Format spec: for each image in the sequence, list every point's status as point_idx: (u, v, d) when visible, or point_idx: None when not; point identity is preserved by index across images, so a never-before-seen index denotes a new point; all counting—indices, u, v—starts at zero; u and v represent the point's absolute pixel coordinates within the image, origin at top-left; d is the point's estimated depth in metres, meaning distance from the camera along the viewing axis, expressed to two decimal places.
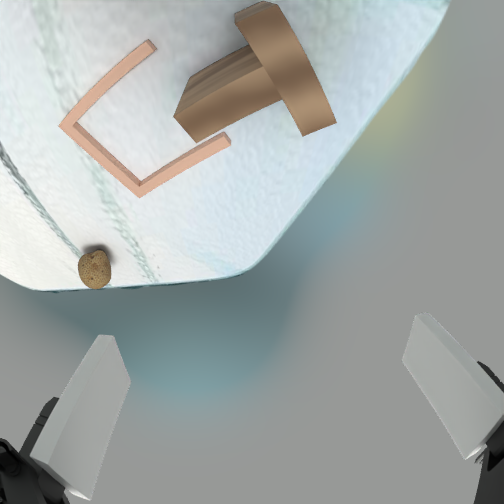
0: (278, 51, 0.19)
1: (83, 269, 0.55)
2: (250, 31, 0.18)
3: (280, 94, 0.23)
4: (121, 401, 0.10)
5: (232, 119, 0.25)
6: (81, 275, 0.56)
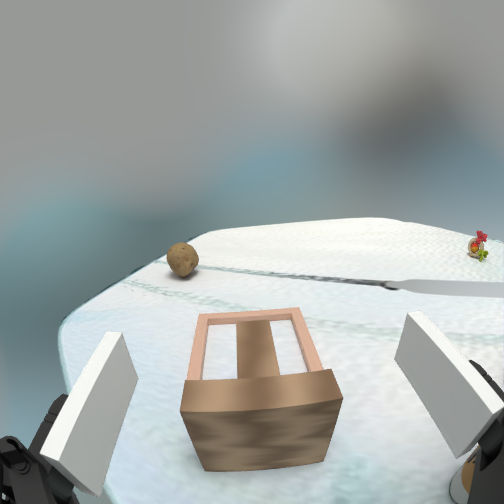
0: (291, 388, 0.22)
1: (193, 251, 0.76)
2: (319, 375, 0.24)
3: (243, 378, 0.24)
4: (129, 398, 0.10)
5: (240, 344, 0.29)
6: (191, 247, 0.77)
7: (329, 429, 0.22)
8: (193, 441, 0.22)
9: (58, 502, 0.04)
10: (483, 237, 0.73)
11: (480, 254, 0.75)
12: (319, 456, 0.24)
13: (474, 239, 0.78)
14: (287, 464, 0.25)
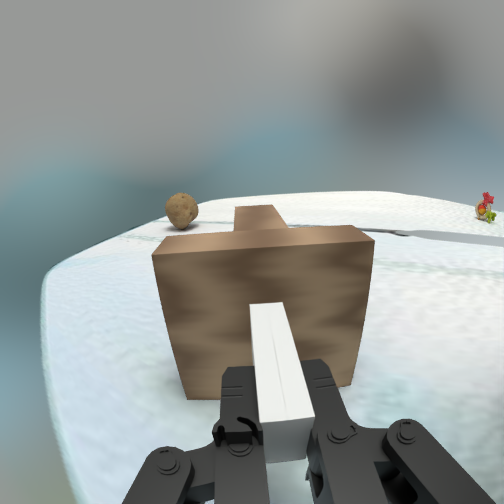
0: (304, 234, 0.18)
1: (192, 201, 0.72)
2: (339, 228, 0.20)
3: (241, 230, 0.20)
4: None
5: (238, 215, 0.25)
6: (191, 197, 0.73)
7: (359, 310, 0.18)
8: (168, 326, 0.18)
9: None
10: (490, 198, 0.69)
11: (488, 216, 0.70)
12: (346, 372, 0.20)
13: (481, 201, 0.73)
14: None
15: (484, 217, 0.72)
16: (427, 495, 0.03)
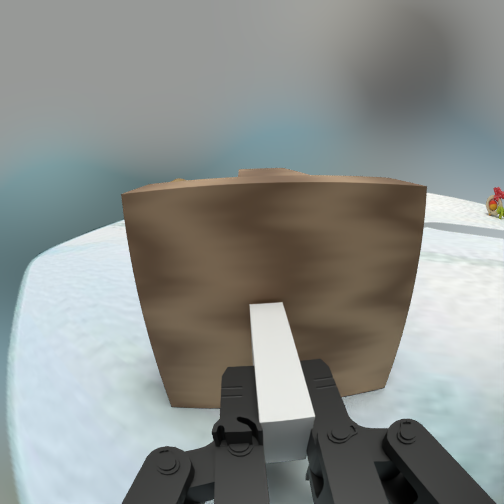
0: (334, 178, 0.13)
1: None
2: (375, 177, 0.14)
3: (248, 176, 0.15)
4: None
5: None
6: None
7: (407, 284, 0.13)
8: (143, 303, 0.13)
9: None
10: (501, 193, 0.63)
11: (499, 212, 0.65)
12: (382, 371, 0.15)
13: (492, 196, 0.67)
14: None
15: (495, 213, 0.66)
16: (427, 495, 0.03)
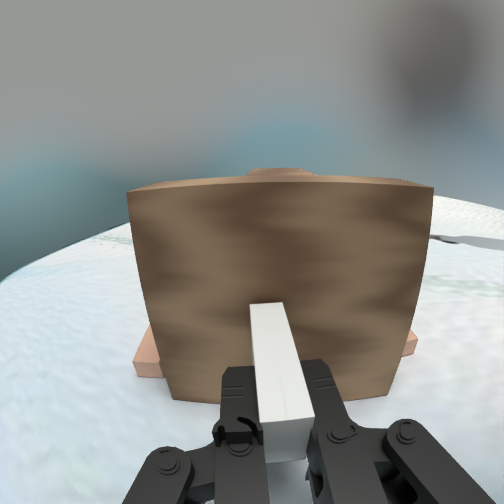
0: (338, 178, 0.13)
1: None
2: (383, 178, 0.14)
3: None
4: None
5: (255, 171, 0.20)
6: None
7: (411, 290, 0.12)
8: (146, 297, 0.13)
9: None
10: None
11: None
12: (385, 378, 0.14)
13: None
14: None
15: None
16: (427, 495, 0.03)
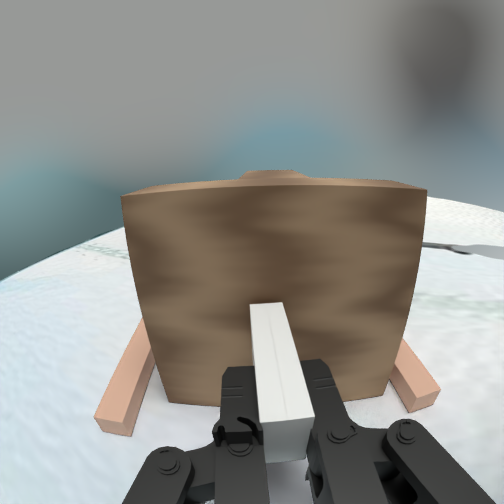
0: (332, 180, 0.13)
1: None
2: (376, 180, 0.14)
3: (248, 179, 0.15)
4: None
5: (249, 173, 0.20)
6: None
7: (405, 291, 0.12)
8: (141, 300, 0.13)
9: None
10: None
11: None
12: (380, 379, 0.14)
13: None
14: None
15: None
16: (427, 495, 0.03)
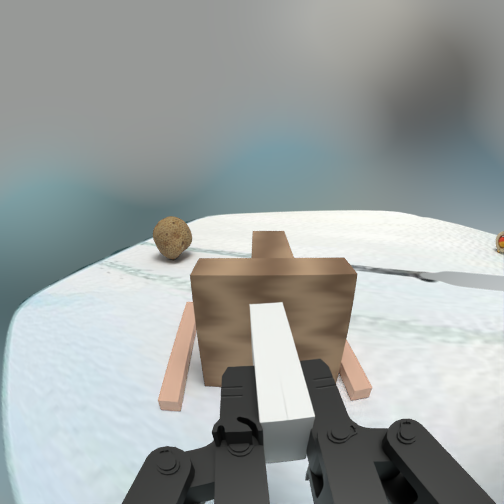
0: (304, 265, 0.24)
1: (185, 227, 0.61)
2: (333, 260, 0.26)
3: (257, 258, 0.26)
4: None
5: (255, 241, 0.31)
6: (184, 222, 0.62)
7: (343, 325, 0.24)
8: (198, 328, 0.24)
9: None
10: None
11: None
12: (332, 372, 0.26)
13: (502, 233, 0.63)
14: None
15: None
16: (427, 495, 0.03)
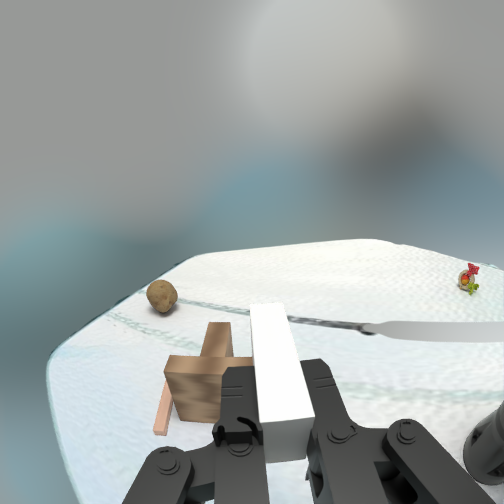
0: (228, 365, 0.39)
1: (171, 289, 0.76)
2: (248, 360, 0.40)
3: (203, 356, 0.41)
4: None
5: (207, 337, 0.46)
6: (170, 284, 0.77)
7: None
8: (171, 394, 0.39)
9: None
10: (474, 270, 0.73)
11: (470, 287, 0.74)
12: None
13: (465, 271, 0.77)
14: None
15: (466, 288, 0.76)
16: (427, 495, 0.03)
